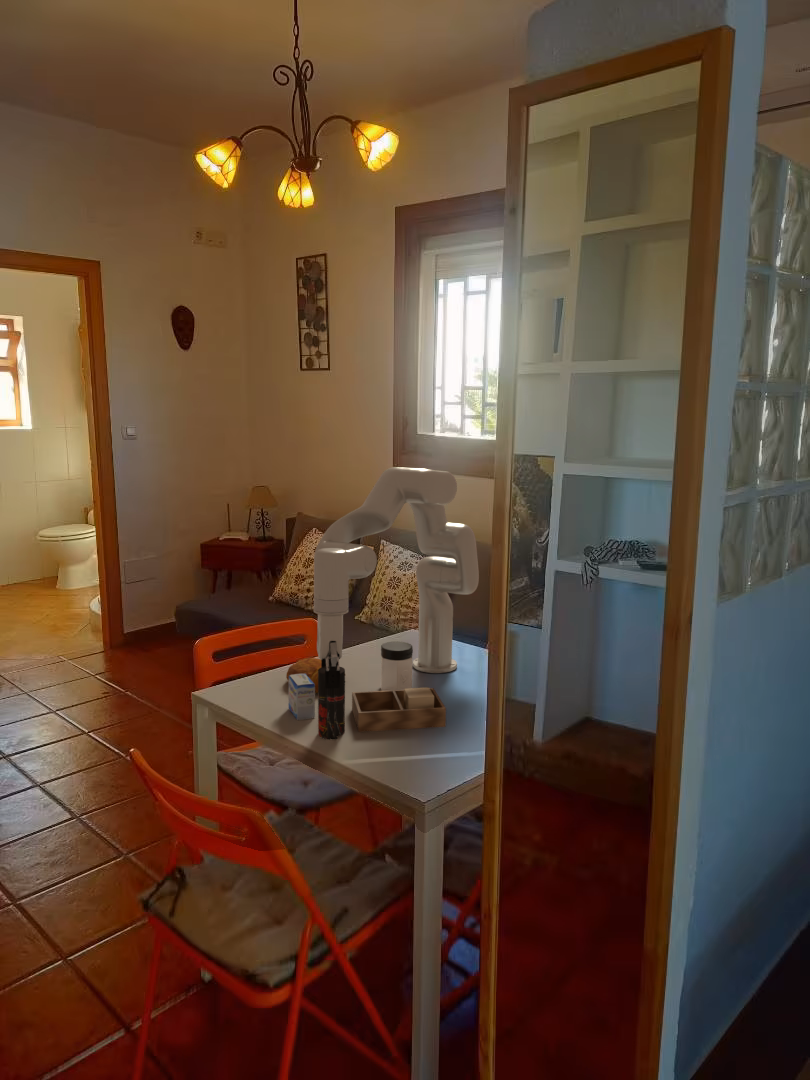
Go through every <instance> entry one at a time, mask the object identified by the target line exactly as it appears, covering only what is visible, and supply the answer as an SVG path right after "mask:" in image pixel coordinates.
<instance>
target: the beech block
mask: <svg viewBox="0 0 810 1080" xmlns="http://www.w3.org/2000/svg"><path fill="white" fill-rule="evenodd" d="M429 688H430V687H429V686H428V687H412V688H407V689H404V710H405V709H423V708H434V695H433V694H432V692H431V690H430V689H429Z"/></svg>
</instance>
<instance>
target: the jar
mask: <svg viewBox="0 0 810 1080" xmlns="http://www.w3.org/2000/svg"><path fill="white" fill-rule="evenodd" d="M413 650H414V648H413V645H412V644H411V643H409V642H405V641H388V642H384V643H382V644H381V646H380V691H388V690H404V689H407V688H413V653H414V651H413Z"/></svg>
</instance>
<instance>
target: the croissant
mask: <svg viewBox="0 0 810 1080" xmlns="http://www.w3.org/2000/svg"><path fill="white" fill-rule="evenodd" d="M339 667H341V666H340V665H339ZM319 668H321V659H320V658H316V657H308V658H304V659H299V660H298V661H297V662H295V663H292V665H290V666H289V668H287V669H288V670H287V672H286V680H287V681H288V682H289V675H294V674H306V675H307V676H308V677H309V678H310V680H311V681H312V682H313V683H314V684H315V694H318V669H319Z"/></svg>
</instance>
